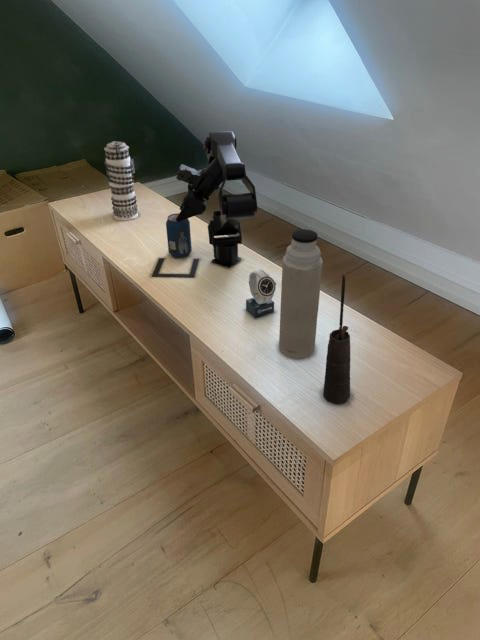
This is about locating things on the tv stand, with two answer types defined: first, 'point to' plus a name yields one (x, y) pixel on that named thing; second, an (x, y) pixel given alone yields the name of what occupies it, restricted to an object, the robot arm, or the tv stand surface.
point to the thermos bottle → (300, 295)
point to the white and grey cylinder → (121, 180)
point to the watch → (260, 294)
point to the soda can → (178, 237)
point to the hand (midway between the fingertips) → (178, 215)
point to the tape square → (158, 266)
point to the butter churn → (338, 362)
